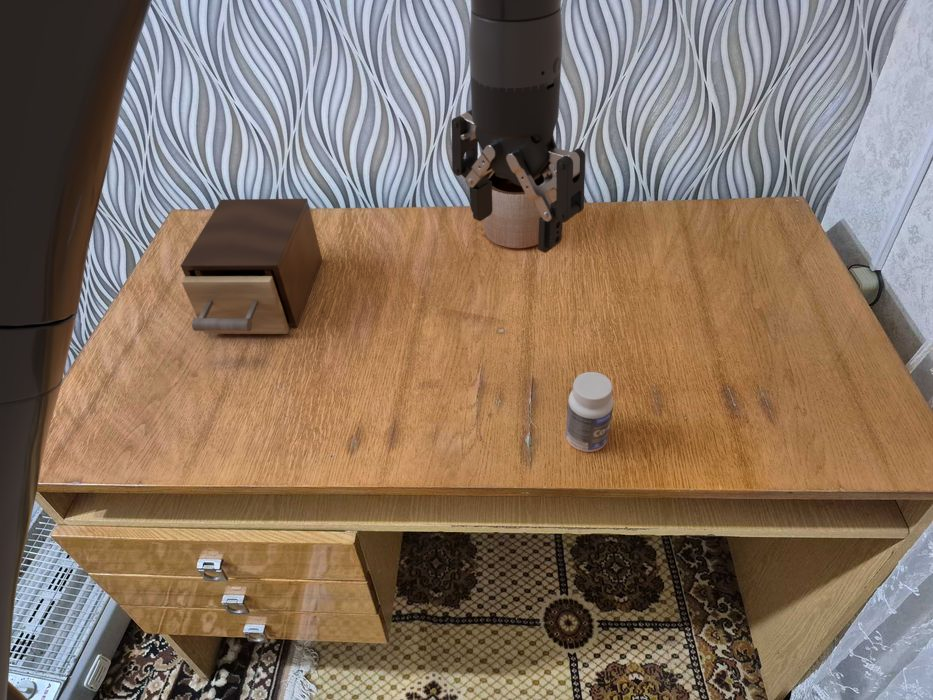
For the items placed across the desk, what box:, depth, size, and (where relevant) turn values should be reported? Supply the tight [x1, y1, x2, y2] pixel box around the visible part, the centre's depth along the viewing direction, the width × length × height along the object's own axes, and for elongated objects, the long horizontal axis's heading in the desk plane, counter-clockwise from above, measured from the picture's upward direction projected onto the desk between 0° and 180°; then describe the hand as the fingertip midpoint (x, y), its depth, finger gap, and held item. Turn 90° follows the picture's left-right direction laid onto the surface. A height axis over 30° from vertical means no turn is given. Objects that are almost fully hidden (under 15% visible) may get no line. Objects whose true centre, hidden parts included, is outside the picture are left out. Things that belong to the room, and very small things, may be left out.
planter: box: [482, 172, 552, 250], centre depth 100 cm, size 11×11×10 cm
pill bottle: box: [565, 371, 615, 453], centre depth 71 cm, size 5×5×8 cm
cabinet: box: [180, 198, 323, 329], centre depth 92 cm, size 16×13×11 cm
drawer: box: [181, 270, 290, 335], centre depth 88 cm, size 20×11×9 cm, turn 176°
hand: (514, 232), depth 66 cm, fingers open, 8 cm apart
